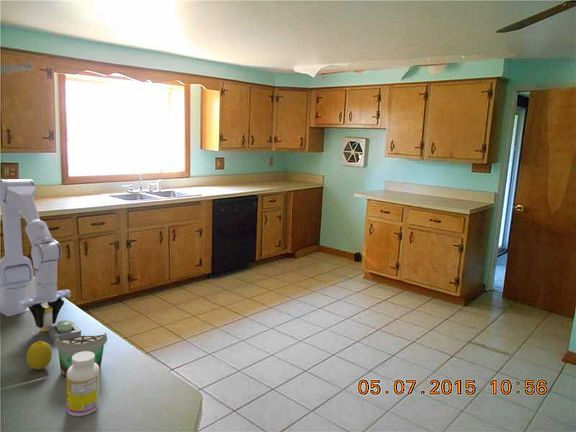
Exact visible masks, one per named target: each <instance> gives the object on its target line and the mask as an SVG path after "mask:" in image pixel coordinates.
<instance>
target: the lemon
mask: <svg viewBox="0 0 576 432" xmlns="http://www.w3.org/2000/svg"><path fill="white" fill-rule="evenodd" d="M52 355H53V352H52V348H51V345H50V344H49V343H48V342H46V341H43V340H38V341H36V342H34V343H32V344H31V345H30V347H29V348H28V350H27V353H26V361H27V365H28V366H29V367H30V368H31V369H33V370H37V371H41V370H42V369H44V368H45V367H47V366H48V365H49V364H50V362H51V361H52V358H53V357H52Z"/></svg>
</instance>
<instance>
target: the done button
mask: <svg viewBox="0 0 576 432" xmlns="http://www.w3.org/2000/svg"><path fill="white" fill-rule="evenodd" d="M73 322H74V321H72V320H61V321H60V320H59V321H58V322H56V323H57V332H58V334H59V333H64V332H69V331H72V323H73Z"/></svg>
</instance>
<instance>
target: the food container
mask: <svg viewBox="0 0 576 432" xmlns="http://www.w3.org/2000/svg"><path fill="white" fill-rule="evenodd" d="M107 342H108V335H107V333H104V334H100V335H99V334H98V335H81V336H79V337H75V338H70V339H62V340H59V339H58V337H57V339H56V341H55V343H54V346H55V348H56V349H57V350H58V351H57V352H58V359H59V366H60V368H59V369H60V374H61V376H62V377H63V378H65V379H67V370H68V369H69V367H70V366H72V356H73V355H74V354H76V353H78V352H83V351H90V352H93V353H94V354H95V361H94V362H95V363H96V364H98V366H99V372H100V370H101V368H102V363H103V362H102V359H103V356H104V355H103V353H104V348H105V347H104V346H105V344H106V343H107Z"/></svg>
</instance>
